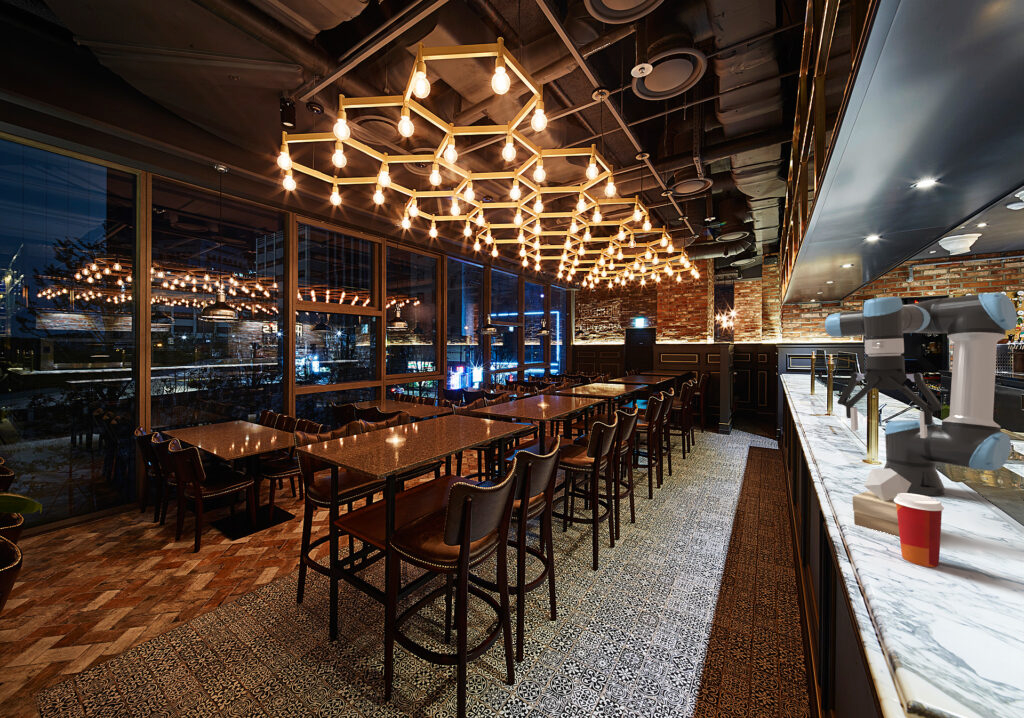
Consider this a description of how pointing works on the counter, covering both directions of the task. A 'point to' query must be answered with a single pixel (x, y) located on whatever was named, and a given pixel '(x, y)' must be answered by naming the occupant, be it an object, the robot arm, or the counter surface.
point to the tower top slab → (875, 506)
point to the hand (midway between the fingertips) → (887, 433)
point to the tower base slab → (876, 523)
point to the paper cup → (919, 528)
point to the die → (886, 484)
